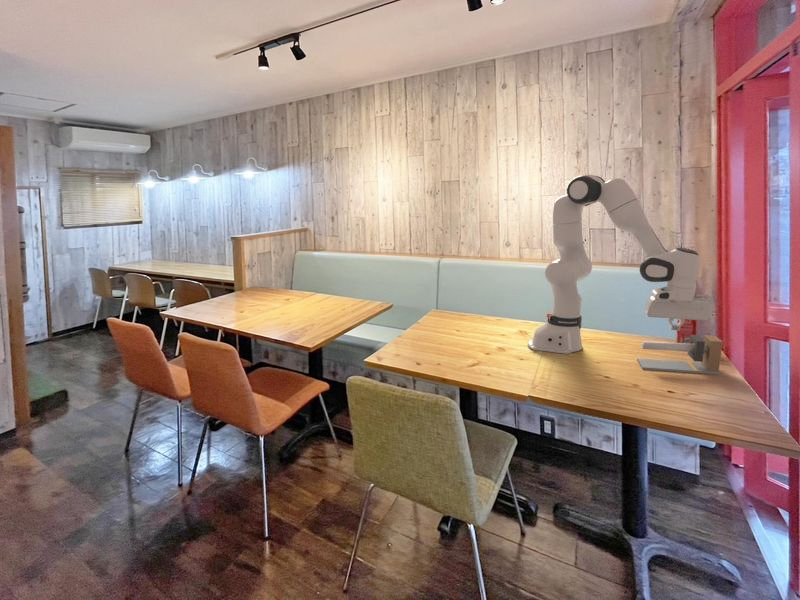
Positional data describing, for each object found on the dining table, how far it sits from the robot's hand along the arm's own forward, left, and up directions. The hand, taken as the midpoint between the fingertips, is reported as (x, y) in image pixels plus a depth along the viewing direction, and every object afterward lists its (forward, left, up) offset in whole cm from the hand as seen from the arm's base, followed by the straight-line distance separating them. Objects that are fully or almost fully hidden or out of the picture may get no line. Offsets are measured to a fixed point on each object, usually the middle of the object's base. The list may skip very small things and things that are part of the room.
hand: (674, 329), depth 164 cm
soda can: (+12, +25, -15) cm, 31 cm away
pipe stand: (+2, 0, -15) cm, 15 cm away
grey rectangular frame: (+8, 0, -10) cm, 13 cm away
